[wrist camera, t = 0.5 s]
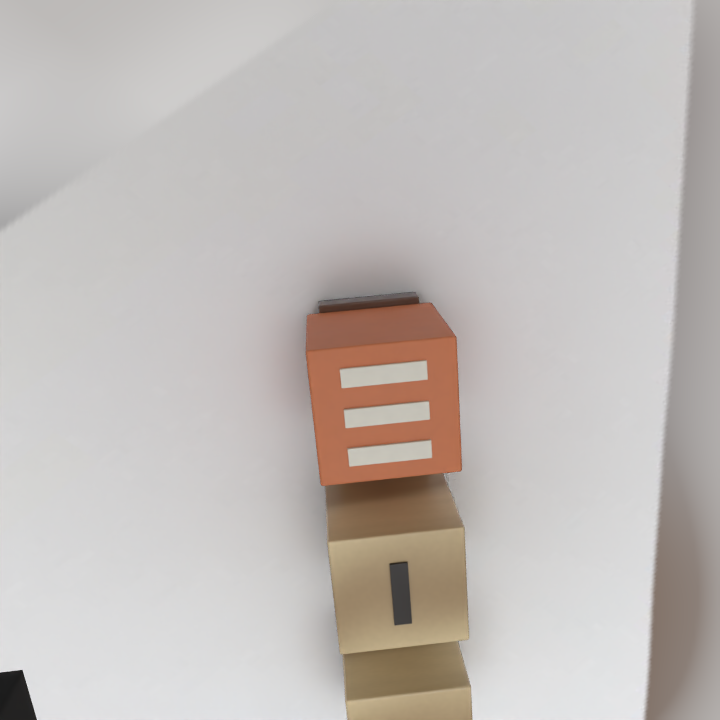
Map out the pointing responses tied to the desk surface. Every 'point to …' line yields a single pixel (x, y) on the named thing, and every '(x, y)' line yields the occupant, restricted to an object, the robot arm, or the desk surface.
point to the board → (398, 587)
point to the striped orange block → (383, 393)
